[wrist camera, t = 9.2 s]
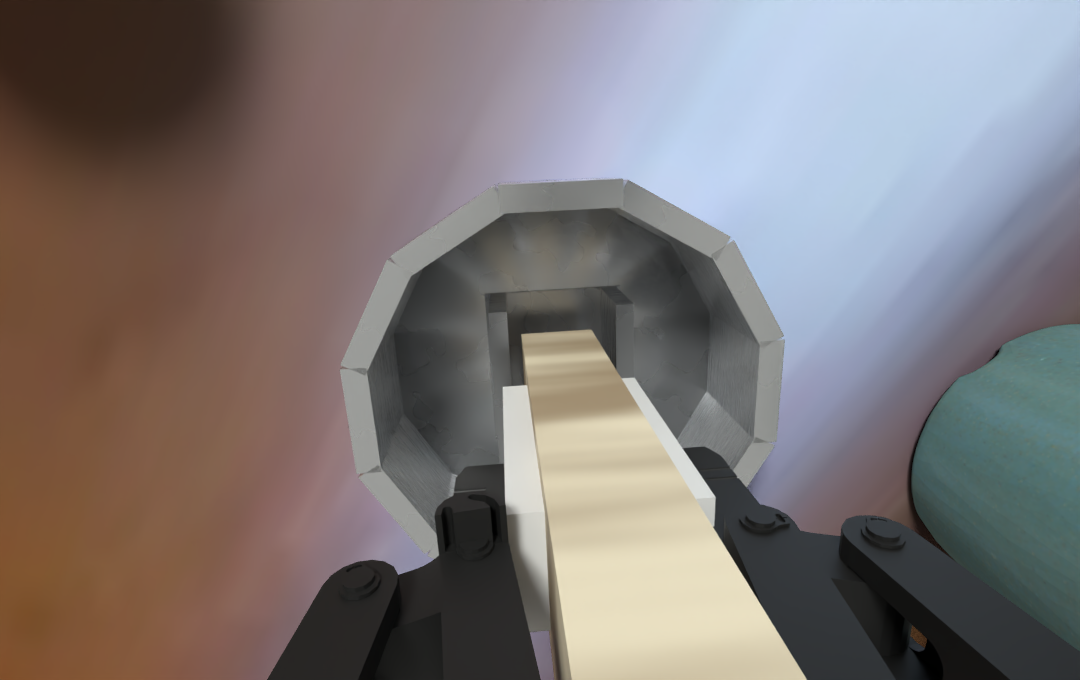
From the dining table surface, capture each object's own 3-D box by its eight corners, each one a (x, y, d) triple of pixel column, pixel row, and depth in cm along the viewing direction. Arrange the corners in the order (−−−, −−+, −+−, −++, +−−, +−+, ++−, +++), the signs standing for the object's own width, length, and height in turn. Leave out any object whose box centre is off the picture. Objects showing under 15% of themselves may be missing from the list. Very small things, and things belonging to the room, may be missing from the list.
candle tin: (356, 189, 20) (311, 194, 15) (730, 171, 21) (799, 169, 16) (401, 520, 24) (377, 605, 19) (714, 495, 25) (765, 570, 20)
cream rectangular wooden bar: (521, 334, 20) (583, 762, 5) (591, 329, 20) (839, 732, 5) (527, 436, 21) (593, 1020, 6) (593, 431, 21) (803, 991, 6)
